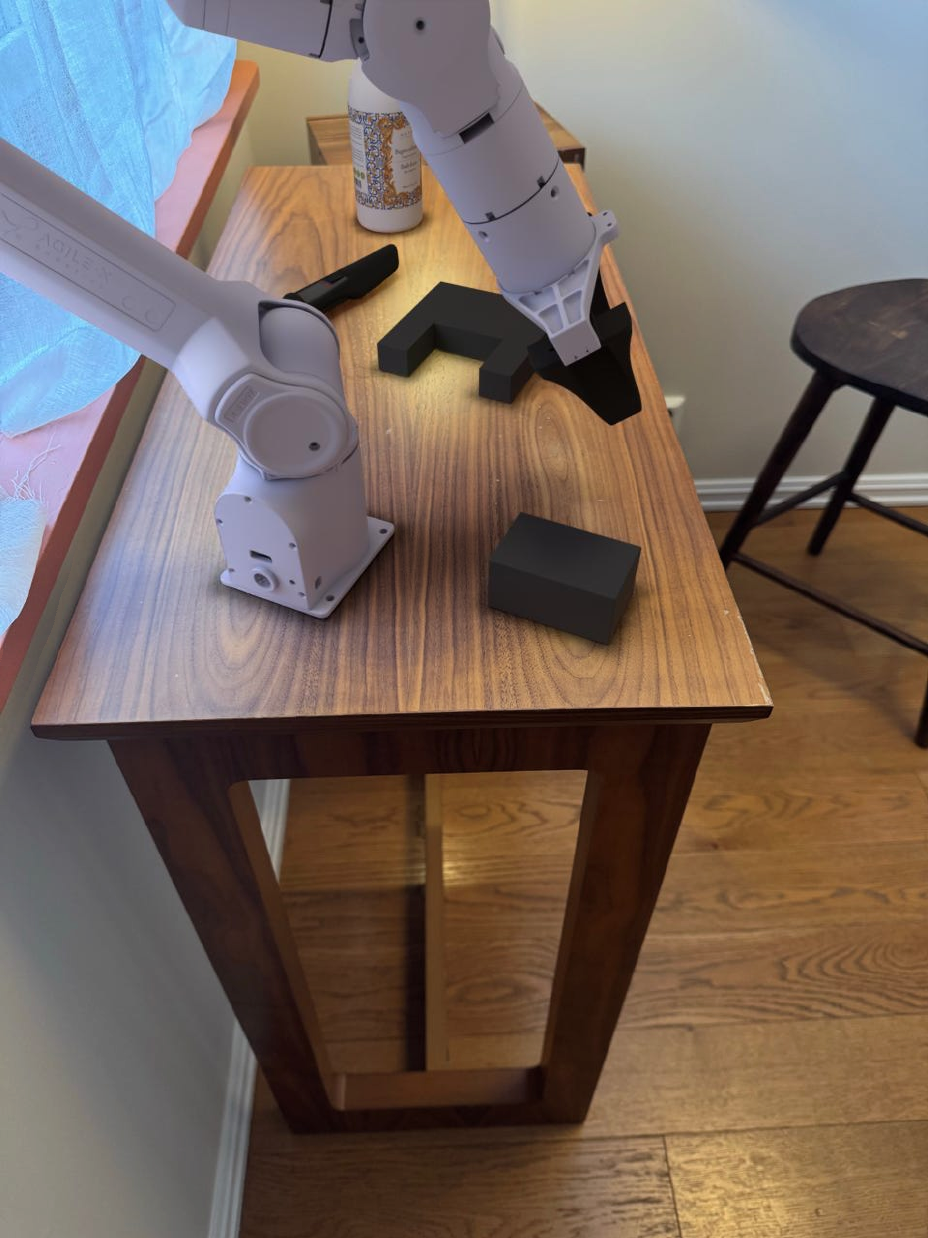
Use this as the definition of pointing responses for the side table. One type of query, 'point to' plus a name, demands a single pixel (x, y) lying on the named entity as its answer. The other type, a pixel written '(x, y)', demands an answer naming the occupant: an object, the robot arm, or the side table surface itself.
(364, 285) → the electric trimmer
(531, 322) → the base pad
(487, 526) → the side table surface
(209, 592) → the side table surface
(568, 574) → the rectangular block
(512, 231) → the robot arm
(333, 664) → the side table surface
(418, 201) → the bath foam
